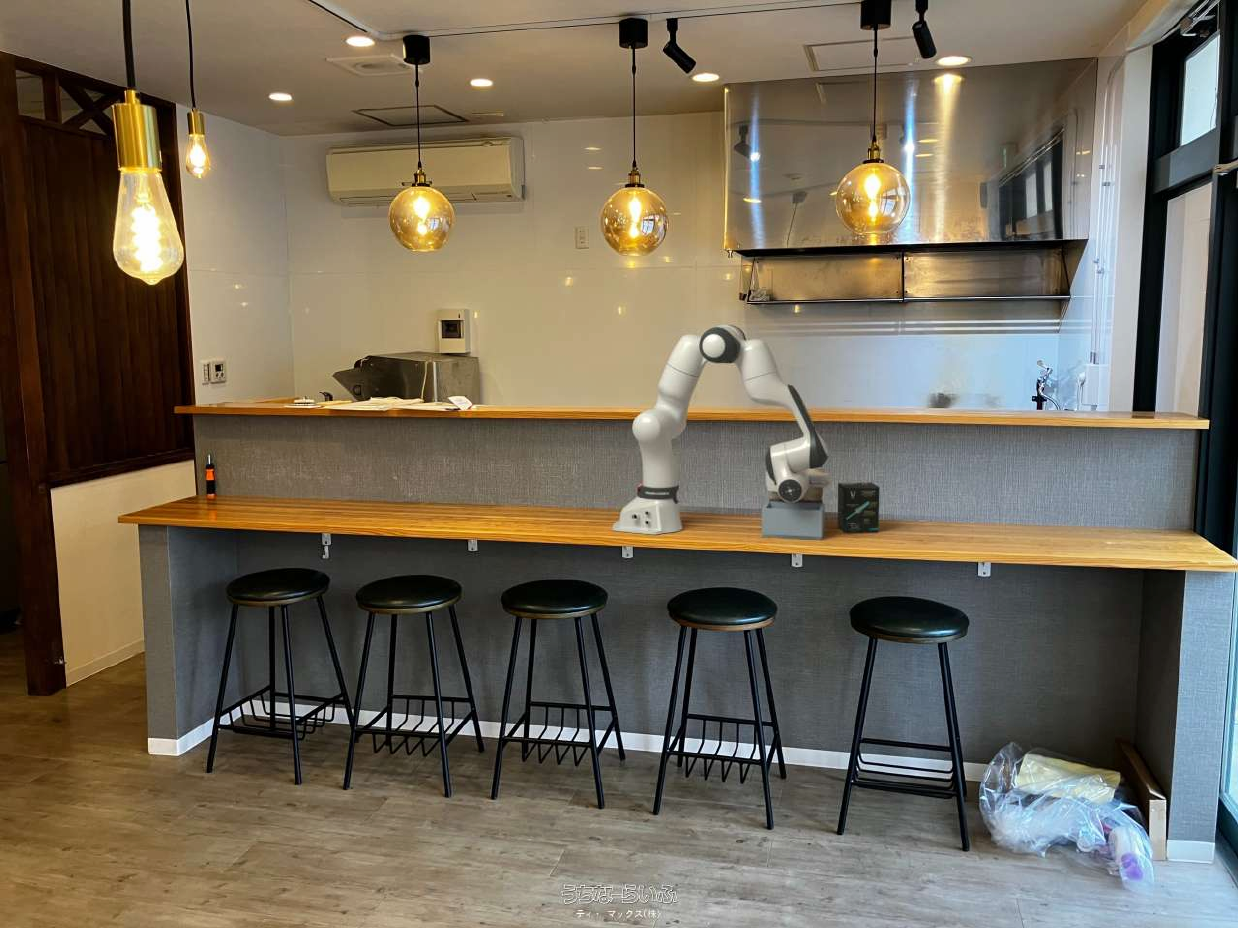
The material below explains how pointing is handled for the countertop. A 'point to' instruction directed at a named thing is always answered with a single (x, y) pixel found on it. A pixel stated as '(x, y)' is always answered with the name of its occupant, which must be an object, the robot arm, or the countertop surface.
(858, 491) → the tampon box
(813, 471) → the lid flap
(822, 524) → the crate
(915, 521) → the countertop surface
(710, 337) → the robot arm
